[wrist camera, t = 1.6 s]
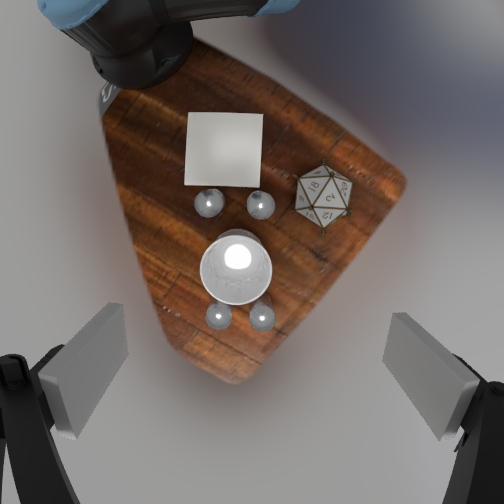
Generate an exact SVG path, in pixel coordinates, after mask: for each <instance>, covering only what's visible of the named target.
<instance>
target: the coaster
mask: <svg viewBox="0 0 504 504" xmlns="http://www.w3.org/2000/svg"><path fill="white" fill-rule="evenodd" d="M262 125H263V114H247V113H214V112H188V126H187V142H186V160H185V183H184V185H207V186H236V187H258V188H259V186H260V166H261V146H262Z"/></svg>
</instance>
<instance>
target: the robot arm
mask: <svg viewBox="0 0 504 504" xmlns="http://www.w3.org/2000/svg"><path fill="white" fill-rule="evenodd" d="M299 2H300V0H37V3H38V7H39V9H40V11H41V12H42V14H43V15H44V16H46V17H47V18H48V19H49V20H50V22H51V24H52V25H53V26H55V27H56V28H57V29H59V30H61V31H62V32H64V33H65V34H66V35H68V36H69V37H71V38H72V39H73V40H75V41H76V42H77V43H79V44H80V45H81V46H83V47H85V48H86V49H87V50H88V51H90V54H91V57H92V61H93V64H94V66H95V69H96V70H97V72H98V73H99V74H100V75H101V77H103V78H104V79H105V80H106V81H108V82H109V83H111V84H112V85H114V86H116V87H119V88H123V89H129V90H135V89H143V88H148V87H151V86H154V85H156V84H158V83H160V82H162V81H164V80H166V79H167V78H169V77H170V76H171V75H173V74H174V73H175V72H176V71H177V70H178V69H179V68H180V67H181V66H182V64H183V63H184V62H185V60H186V58H187V57H188V55H189V53H190V50H191V47H192V43H193V31H192V27H191V24H190V21H195V20H203V19H211V18H220V17H232V16H245V15H247V16H248V17H256V16H259V15H264V14H280V13H286V12H288V11H289V10H291V9H293V8H294V7H296V5H297V4H298V3H299ZM127 356H128V347H127V339H126V330H125V319H124V309H123V304H118V303H108V304H107V305H106V306H105V307H104V308H103V309H102V310H101V311H100V312H99V313H98V314H96V316H94V317H93V318H92V319H91V320H90V321H89V322H88V323H87V324H86V325H85V326H84V327H83V328H82V329H81V330H80V331H79V332H78V333H77V334H76V335H75V336H74V337H73V338H72V339H71V340H70V341H69V342H68V343H67V344H66V345H62V344H61V345H59V346H57V347H55V348H52V349H51V350H50V351H49V352H48V353H47V354H46V355H45V356H44V357H43V358H42V359H41V360H40V361H39V362H38V363H37V364H36V365H35V366H34V367H33V368H32V369H31V370H30V371H29V368H28V365H27V361H26V359H25V357H23V356H21V355H17V354H8V355H4V356H1V357H0V504H1V496H2V495H1V494H2V478H3V465H4V456H5V447H6V443H7V449H8V454H9V459H10V464H11V468H12V473H13V477H14V481H15V485H16V489H17V493H18V496H19V499H20V503H21V504H80V502H79V500H78V498H77V496H76V494H75V492H74V489H73V487H72V485H71V483H70V480H69V478H68V476H67V474H66V471H65V469H64V466H63V464H62V461H61V459H60V456H59V454H58V451H57V448H56V446H55V443H54V440H53V437H52V435H51V432H50V429H51V427H52V426H53V425H54V424H55V426H56V429H57V431H58V434H59V435H60V436H64V437H67V438H71V439H74V440H77V438H78V436H79V435H80V433H81V431H82V430H83V428H84V426H85V425H86V423H87V421H88V419H89V418H90V416H91V414H92V413H93V411H94V409H95V408H96V406H97V404H98V403H99V401H100V399H101V398H102V396H103V394H104V393H105V391H106V389H107V388H108V386H109V385H110V383H111V381H112V379H113V378H114V376H115V374H116V373H117V372H118V370H119V368H120V367H121V365H122V364H123V361H124V360H125V359H126V357H127ZM382 361H383V362H384V364H385V365H386V367H387V368H388V369H389V371H390V372H391V373H392V375H393V376H394V378H395V379H396V380H397V382H398V383H399V384H400V386H401V387H402V389H403V390H404V391H405V393H406V394H407V395H408V397H409V399H410V400H411V401H412V403H413V404H414V406H415V407H416V408H417V410H418V411H419V413H420V414H421V416H422V417H423V418H424V420H425V421H426V423H427V424H428V426H429V427H430V429H431V430H432V431H433V433H434V434H435V436H436V437H437V439H438V440H439V441H443V440H446V439H450V438H454V437H455V435H456V433H457V431H458V429H459V427H460V426H461V427H462V428H463V429H464V433H463V435H462V437H461V439H460V441H459V443H458V445H457V447H456V449H455V450H454V452H456V451H457V450H458V453H457V457H456V460H455V464H454V468H453V471H452V475H451V478H450V482H449V485H448V488H447V491H446V494H445V497H444V500H443V503H442V504H504V383H501V382H496V381H492V382H489V383H488V382H487V381H486V380H485V379H484V378H482V377H481V376H480V375H479V374H478V373H477V372H476V371H475V370H473V369H472V367H471V366H469V365H467V363H466V362H465V361H464V360H463V359H462V358H460V357H458V356H456V355H454V354H452V353H451V352H450V351H448V350H447V349H446V348H445V347H444V346H443V345H442V344H440V343H439V342H438V341H437V340H436V339H435V338H434V337H433V336H432V335H431V334H430V333H428V332H427V331H426V330H425V329H424V328H423V327H422V326H420V325H419V324H418V323H417V322H416V321H414V320H413V319H412V318H411V317H410V316H409V315H408V314H407V313H393V315H392V319H391V324H390V329H389V334H388V338H387V343H386V347H385V351H384V355H383V360H382Z"/></svg>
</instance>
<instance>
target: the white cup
mask: <svg viewBox="0 0 504 504" xmlns="http://www.w3.org/2000/svg"><path fill="white" fill-rule="evenodd" d="M200 276H201V280H202V283H203V285H204V287H205V288H206V290H207V291H208V292H209V293H210V294H211V295H212V296H213V297H214V298H215V299H217V300H219V301H221V302H223V303H226V304H231V305H242V304H246V303H249V302H252V301H254V300H256V299H257V298H258V297H260V296H261V295H262V294H263V293H264V292H265V290H266V289H267V287H268V286H269V283H270V281H271V277H272V264H271V260H270V257H269V255H268V253H267V251H266V250H265V248H264V246H263V244H262V243H261V242H260V240H259V239H258V238H257V237H256V236H255V235H254V234H253V233H252V232H250V231H247V230H245V229H242V228H238V229H230V230H228V231H226V232H224V233H222V234H221V235H220V236H218V237H217V238H216V239H215V240H214V241H213V243H212V244H211V245H210V246H209V247H208V248H207V250H206V251H205V253H204V255H203V257H202V260H201V264H200Z"/></svg>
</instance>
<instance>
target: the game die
mask: <svg viewBox="0 0 504 504" xmlns="http://www.w3.org/2000/svg"><path fill="white" fill-rule="evenodd" d="M325 163H326V160H325V159H324V158H323V160H322V165H321V166H319V167H317V168H316V169H314V170H312V171H310V172H308V173H306V174H304V175H303V176H301V177H298V175H297V174H293V176H294V178H295V179H298V181H297V191H296V200H295V209H292V210H290V212H289V213H292V214H293V213H294V212H295V211H296V212H298V213H299V214H301V215H303V216H304V217H306V218H307V219H309V220H310V221H312V222H313V223H315V224H316V225H318V226H319V227H321V228H322V230H321V231H322V232H321V233H322V234H323V236H324V234H325V233H326V232H325V228H326V227H328V226H329V225H331V224H332V223H334V222H335V221H337V220H338V219H340V218H341V217H343V216H344V215H346V214H347V216H348V217H349V216H352V215H351V212H352V209H350V208H349V204H350V198H351V193H352V187H353V183H357V182H358V180H359V179H354V180H353V181H351V180H349V179H348V178H346V177H344V176H343V175H341V174H340V173H338V172H336V171H335V170H333V169H331V168H330V167H328V166H326V165H325Z"/></svg>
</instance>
